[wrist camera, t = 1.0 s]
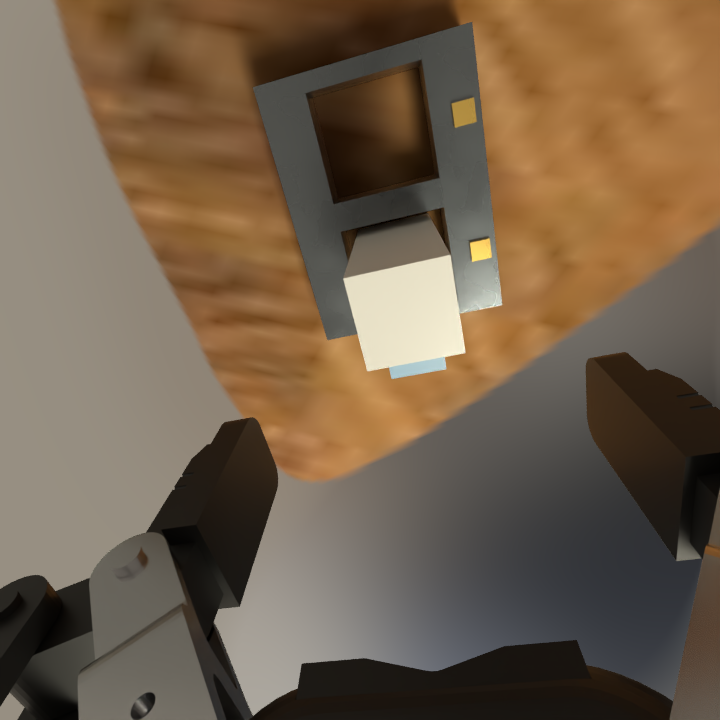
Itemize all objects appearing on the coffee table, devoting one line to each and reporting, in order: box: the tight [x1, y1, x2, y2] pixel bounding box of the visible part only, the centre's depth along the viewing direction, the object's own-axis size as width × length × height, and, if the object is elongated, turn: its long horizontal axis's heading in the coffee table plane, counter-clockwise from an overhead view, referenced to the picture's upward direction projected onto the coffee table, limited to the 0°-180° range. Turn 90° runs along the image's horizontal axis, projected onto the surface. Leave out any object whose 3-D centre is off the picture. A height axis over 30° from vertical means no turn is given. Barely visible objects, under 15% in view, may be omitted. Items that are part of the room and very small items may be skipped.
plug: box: [343, 213, 465, 379], centre depth 22 cm, size 5×4×10 cm
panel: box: [253, 22, 502, 340], centre depth 24 cm, size 13×10×3 cm
